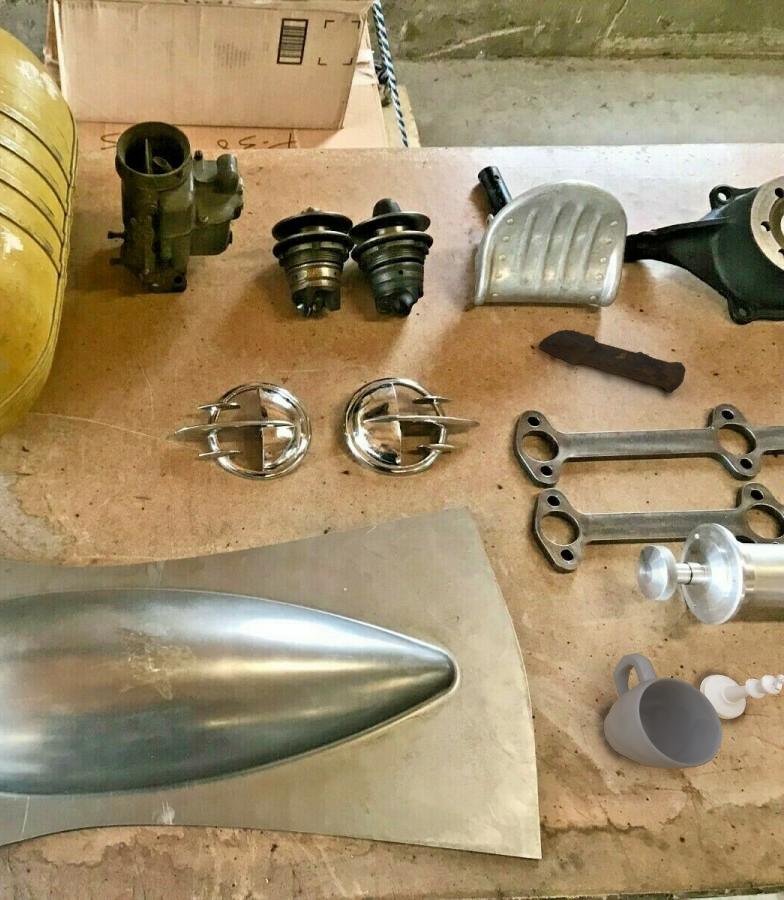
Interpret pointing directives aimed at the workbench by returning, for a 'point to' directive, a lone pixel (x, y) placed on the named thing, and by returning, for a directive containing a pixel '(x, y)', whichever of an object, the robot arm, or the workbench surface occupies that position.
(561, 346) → the hand tool
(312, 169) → the workbench surface
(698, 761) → the mug
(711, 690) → the chess piece
